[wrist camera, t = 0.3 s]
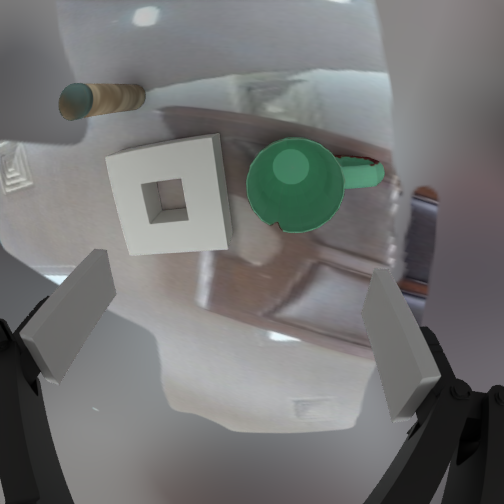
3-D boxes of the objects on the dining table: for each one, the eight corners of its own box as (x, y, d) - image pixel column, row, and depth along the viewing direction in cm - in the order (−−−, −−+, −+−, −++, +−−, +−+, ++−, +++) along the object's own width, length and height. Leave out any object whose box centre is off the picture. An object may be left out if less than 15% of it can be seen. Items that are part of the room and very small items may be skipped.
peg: (120, 88, 33) (56, 90, 21) (144, 81, 33) (85, 78, 21) (123, 113, 35) (61, 125, 23) (147, 107, 35) (90, 114, 22)
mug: (260, 207, 40) (256, 240, 32) (245, 136, 36) (235, 147, 27) (366, 192, 38) (392, 220, 29) (359, 120, 34) (386, 127, 25)
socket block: (122, 149, 38) (104, 157, 33) (219, 132, 36) (211, 137, 32) (143, 239, 44) (129, 255, 40) (233, 232, 43) (228, 249, 38)
